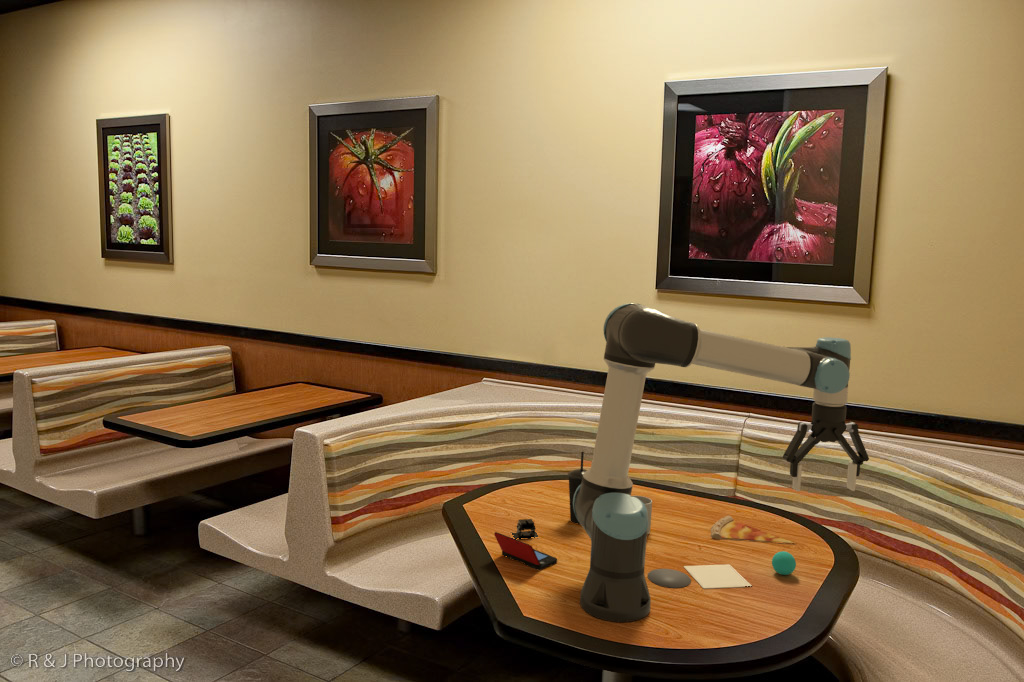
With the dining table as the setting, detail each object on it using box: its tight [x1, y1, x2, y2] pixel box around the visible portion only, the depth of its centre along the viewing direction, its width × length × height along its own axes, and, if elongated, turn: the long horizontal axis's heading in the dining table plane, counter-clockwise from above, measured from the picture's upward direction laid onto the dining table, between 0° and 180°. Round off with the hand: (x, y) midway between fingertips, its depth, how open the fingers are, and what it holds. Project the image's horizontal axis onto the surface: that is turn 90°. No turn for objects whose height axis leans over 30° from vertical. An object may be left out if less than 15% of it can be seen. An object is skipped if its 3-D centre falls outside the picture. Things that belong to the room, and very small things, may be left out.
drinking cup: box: [567, 451, 588, 525], centre depth 217 cm, size 8×8×20 cm
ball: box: [771, 550, 797, 576], centre depth 188 cm, size 6×6×6 cm
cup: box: [631, 495, 653, 535], centre depth 210 cm, size 7×10×9 cm
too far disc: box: [647, 568, 692, 589], centre depth 183 cm, size 10×10×1 cm
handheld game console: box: [493, 531, 558, 571], centre depth 190 cm, size 12×11×7 cm
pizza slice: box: [710, 514, 796, 544], centre depth 211 cm, size 16×22×2 cm
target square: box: [683, 563, 753, 590], centre depth 185 cm, size 12×12×1 cm
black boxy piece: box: [511, 518, 538, 540], centre depth 206 cm, size 12×7×5 cm, turn 104°
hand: (823, 489), depth 187 cm, fingers open, 13 cm apart
